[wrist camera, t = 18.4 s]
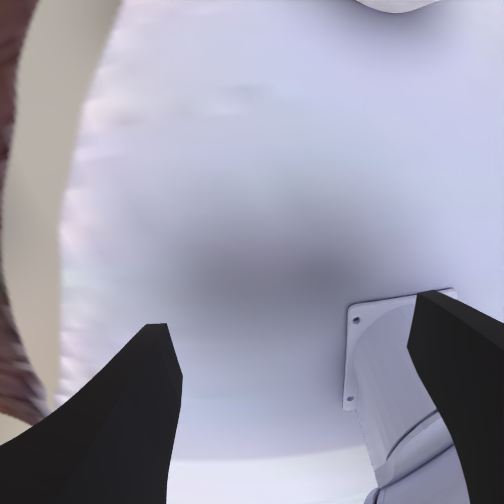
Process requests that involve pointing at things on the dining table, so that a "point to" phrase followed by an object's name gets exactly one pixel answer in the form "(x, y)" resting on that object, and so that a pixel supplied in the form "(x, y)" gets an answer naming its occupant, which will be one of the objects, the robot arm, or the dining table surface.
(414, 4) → the cup
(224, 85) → the dining table surface
